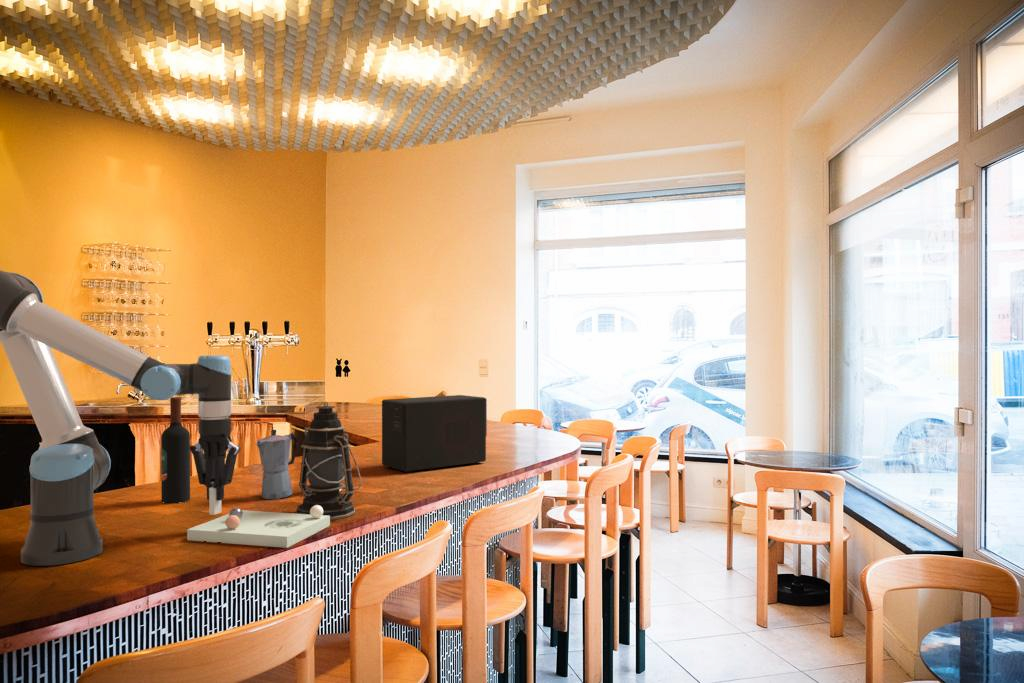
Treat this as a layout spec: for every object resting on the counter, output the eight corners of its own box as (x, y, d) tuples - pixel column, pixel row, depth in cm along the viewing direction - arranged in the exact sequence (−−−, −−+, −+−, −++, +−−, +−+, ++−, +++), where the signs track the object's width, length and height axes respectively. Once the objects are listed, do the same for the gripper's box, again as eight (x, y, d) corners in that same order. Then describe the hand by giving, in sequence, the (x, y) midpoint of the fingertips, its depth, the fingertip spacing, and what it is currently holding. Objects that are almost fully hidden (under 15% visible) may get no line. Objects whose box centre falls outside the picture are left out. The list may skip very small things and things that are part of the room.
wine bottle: (179, 504, 207) (178, 398, 207) (155, 503, 209) (155, 398, 208) (195, 498, 214) (195, 396, 214) (172, 497, 216) (172, 396, 216)
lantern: (276, 515, 194) (276, 402, 194) (321, 503, 208) (321, 398, 208) (330, 525, 184) (330, 406, 184) (374, 512, 197) (374, 401, 197)
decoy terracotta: (234, 531, 169) (234, 517, 169) (222, 530, 170) (222, 516, 169) (242, 527, 172) (242, 514, 172) (230, 526, 173) (230, 513, 173)
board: (287, 547, 164) (287, 536, 164) (187, 540, 170) (187, 529, 170) (329, 525, 183) (329, 515, 183) (238, 519, 190) (238, 509, 190)
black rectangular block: (461, 456, 291) (461, 394, 291) (490, 463, 275) (490, 397, 275) (377, 467, 268) (377, 398, 268) (403, 474, 252) (403, 402, 252)
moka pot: (245, 499, 214) (245, 431, 214) (284, 489, 227) (284, 425, 227) (269, 502, 209) (269, 433, 209) (307, 492, 223) (307, 427, 223)
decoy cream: (319, 520, 179) (319, 507, 179) (307, 519, 180) (307, 506, 180) (325, 516, 182) (325, 504, 182) (314, 516, 183) (314, 503, 183)
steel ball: (237, 522, 176) (237, 509, 176) (226, 521, 177) (226, 508, 177) (245, 519, 180) (245, 506, 180) (234, 518, 180) (234, 505, 180)
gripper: (247, 416, 182) (247, 511, 182) (201, 415, 185) (202, 508, 185) (228, 420, 175) (229, 518, 175) (181, 418, 178) (182, 515, 178)
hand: (215, 513), depth 180 cm, fingers closed
